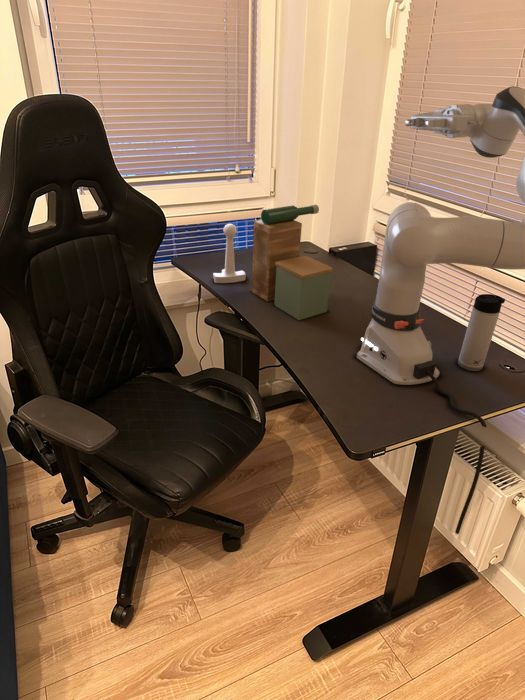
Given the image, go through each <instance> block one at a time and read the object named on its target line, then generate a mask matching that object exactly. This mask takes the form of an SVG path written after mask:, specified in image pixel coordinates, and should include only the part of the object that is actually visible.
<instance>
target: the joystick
mask: <svg viewBox="0 0 525 700" xmlns="http://www.w3.org/2000/svg"><path fill="white" fill-rule="evenodd" d="M222 229H223V235H225V237H226V242H225V257H224V258H225V259H224V268H223V269H221V272H213V273H212V279H213V282H214V283H215V284H229V283H231V284H232V283H238V282H244V281H246V277H247V276H246V272H245V271H244V270H238V271H237V270H236V265H235V244H234V243H235V242H234V238H235V236H236V234H237V232H238V231H237V230H238V229H237V227H236V225H235V224H234V223H226V224H225V225H224V226H223V228H222Z"/></svg>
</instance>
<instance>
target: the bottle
mask: <svg viewBox="0 0 525 700" xmlns="http://www.w3.org/2000/svg"><path fill="white" fill-rule="evenodd" d="M319 211H320V207H319V205H317V204H311V205H308V206H301V207H297V206H295V205H292V204H291V205H287V206H286V205H285V206H279V207H272V208H265V209H262V211H261V213H260V220H262V222H263V223H264V224H271V223H277V222H283V221H289V220H295V221H296V220H297V218H298V217H300V216H306V215H316V214H318V213H319Z"/></svg>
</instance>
